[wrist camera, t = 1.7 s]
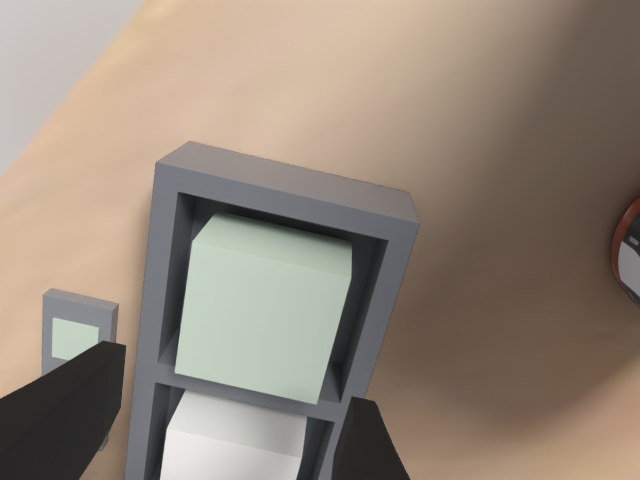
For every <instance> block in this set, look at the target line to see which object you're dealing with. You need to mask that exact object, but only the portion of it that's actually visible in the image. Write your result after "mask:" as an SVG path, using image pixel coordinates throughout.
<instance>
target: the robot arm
mask: <svg viewBox="0 0 640 480" xmlns="http://www.w3.org/2000/svg"><path fill="white" fill-rule="evenodd" d="M125 353H126V345H122V344H117V343H113V342H108V341H104V340H103V341H101V342H99V343H98V344H96V345H94V346H92V347H91V348H89V349H87V350H86V351H84V352H82V353H81V354H79V355H77V356H76V357H74V358H72V359H71V360H69V361H67V362H66V363H64V364H62V365H61V366H59V367H57V368H56V369H54V370H52V371H50V372H49V373H47V374H45V375H44V376H42V377H40V378H38V379H37V380H35V381H33V382H31V383H29V384H28V385H26V386H24V387H22V388H20V389H18V390H16V391H14V392H12V393H10V394H8V395H7V396H5V397H3V398H1V399H0V480H79V478H80V477H81V475H82V474H83V472H84V471H85V469H86V468H87V466H88V465H89V463H90V462H91V460H92V459H93V457H94V456H95V454H96V453H97V451H98V450H99V448H100V447H101V445H102V443H103V442H104V440H105V438H106V436H107V434H108V432H109V430H110V428H111V426H112V424H113V422H114V420H115V418H116V416H117V414H118V412H119V410H120V408H121V398H122V387H123V375H124V364H125ZM331 480H410V478H409V476H408V474H407V472H406V470H405V468H404V466H403V464H402V462H401V460H400V458H399V456H398V454H397V452H396V450H395V447H394V445H393V443H392V441H391V439H390V436H389V434H388V432H387V429H386V427H385V424H384V422H383V419H382V417H381V414H380V412H379V409H378V406H377V405H376V403H375V401H371V400H367V399H362V398H358V397H353V396H351V400H350V403H349V406H348V410H347V413H346V416H345V419H344V423H343V426H342V429H341V433H340V436H339V439H338V442H337V446H336V449H335V452H334V457H333V466H332V475H331Z"/></svg>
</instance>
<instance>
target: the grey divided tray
mask: <svg viewBox="0 0 640 480" xmlns="http://www.w3.org/2000/svg"><path fill="white" fill-rule="evenodd" d="M216 211H221V212H225V213H230V214H234V215H238V216H243V217H247V218H251V219H256V220H260V221H264V222H269V223H273V224H277V225H282V226H286V227H290V228H295V229H299V230H303V231H307V232H312V233H316V234H320V235H325V236H329V237H333V238H338V239H342V240H346V241H351V242H352V267H351V281H350V285H349V288H348V292H347V296H346V299H345V303H344V306H343V310H342V314H341V317H340V321H339V325H338V328H337V332H336V336H335V339H334V343H333V347H332V350H331V354H330V358H329V361H328V365H327V368H326V372H325V376H324V379H323V383H322V387H321V390H320V394H319V398H318V401H317V405H316V404H311V403H307V402H303V401H298V400H294V399H289V398H285V397H280V396H276V395H271V394H267V393H262V392H258V391H253V390H249V389H244V388H240V387H235V386H231V385H227V384H222V383H218V382H213V381H209V380H204V379H200V378H195V377H191V376H186V375H182V374H177V373H175V366H176V358H177V351H178V343H179V336H180V329H181V321H182V314H183V307H184V299H185V292H186V285H187V277H188V270H189V262H190V255H191V248H192V241H193V240H194V239H195V238H196V236H197V235H198V234H199V233H200V231H201V230H202V229H203V228H204V226H205V225H206V224H207V223H208V221H209V220H210V219H211V218H212V216H213V215H214V214H215V213H216ZM419 225H420V222H419V219H418V216H417V214H416V211H415V208H414V205H413V202H412V199H411V196H410V194H409V192H405V191H400V190H396V189H392V188H387V187H383V186H379V185H375V184H370V183H366V182H362V181H358V180H353V179H349V178H345V177H340V176H336V175H332V174H328V173H323V172H319V171H315V170H311V169H306V168H302V167H298V166H293V165H289V164H285V163H281V162H276V161H272V160H268V159H263V158H259V157H255V156H251V155H246V154H242V153H238V152H234V151H229V150H225V149H221V148H216V147H212V146H208V145H204V144H199V143H195V142H191V141H189V142H187V143H186V144H184V145H182V146H181V147H179V148H178V149H176V150H174V151H173V152H171V153H170V154H168V155H166V156H165V157H163V158H161V159H160V160H158V161H157V162H156V164H155V175H154V185H153V195H152V205H151V215H150V225H149V235H148V245H147V255H146V265H145V275H144V285H143V295H142V305H141V315H140V326H139V336H138V346H137V356H136V366H135V376H134V386H133V396H132V406H131V416H130V426H129V436H128V446H127V456H126V466H125V476H124V480H160V476H161V469H162V461H163V454H164V446H165V439H166V432H167V427H168V425H169V423H170V421H171V419H172V417H173V415H174V413H175V411H176V409H177V407H178V405H179V402H180V400H181V398H182V396H183V394H184V392H185V390H186V389H188V390H193V391H197V392H201V393H206V394H210V395H215V396H219V397H224V398H228V399H233V400H237V401H242V402H246V403H251V404H255V405H260V406H264V407H269V408H273V409H278V410H282V411H287V412H291V413H296V414H300V415H305V416H307V422H306V430H305V438H304V445H303V453H302V460H301V463H300V467H299V471H298V474H297V478H296V480H331V475H332V466H333V457H334V452H335V449H336V446H337V442H338V439H339V436H340V433H341V429H342V426H343V423H344V419H345V416H346V413H347V410H348V406H349V403H350V400H351V396H353V397H358V398H362V399H364V398H365V395H366V392H367V389H368V385H369V382H370V379H371V376H372V373H373V370H374V367H375V363H376V360H377V357H378V354H379V351H380V348H381V345H382V341H383V338H384V335H385V332H386V329H387V326H388V323H389V319H390V316H391V313H392V310H393V307H394V304H395V300H396V297H397V294H398V291H399V288H400V285H401V282H402V278H403V275H404V272H405V269H406V266H407V263H408V260H409V256H410V253H411V250H412V247H413V244H414V241H415V237H416V234H417V231H418V228H419Z"/></svg>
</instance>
